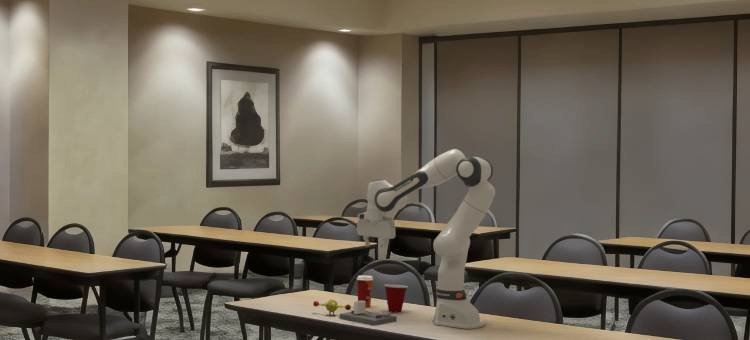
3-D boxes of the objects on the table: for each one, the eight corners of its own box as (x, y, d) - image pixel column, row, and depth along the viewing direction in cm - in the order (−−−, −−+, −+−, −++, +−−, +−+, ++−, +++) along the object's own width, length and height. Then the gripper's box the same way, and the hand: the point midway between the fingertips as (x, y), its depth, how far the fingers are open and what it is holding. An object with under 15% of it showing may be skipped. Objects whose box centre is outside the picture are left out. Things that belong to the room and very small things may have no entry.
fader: (365, 312, 405) (365, 300, 405) (357, 314, 402) (357, 302, 402) (361, 312, 407) (362, 300, 407) (353, 313, 403) (354, 301, 403)
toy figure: (310, 314, 412) (310, 298, 412) (316, 312, 417) (316, 296, 417) (347, 318, 405) (347, 302, 404) (352, 316, 410) (353, 300, 409)
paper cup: (372, 308, 431) (373, 277, 431) (355, 307, 431) (356, 277, 431) (372, 305, 439) (373, 275, 438) (356, 304, 439) (357, 274, 439)
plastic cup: (411, 311, 427) (412, 284, 426) (399, 314, 418) (399, 287, 417) (391, 308, 433) (392, 282, 432) (378, 311, 424) (379, 284, 423)
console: (396, 321, 401) (396, 312, 401) (374, 325, 391) (374, 316, 390) (361, 314, 414) (361, 306, 414) (339, 318, 404) (339, 310, 404)
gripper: (399, 217, 415) (398, 249, 415) (364, 214, 428) (363, 244, 429) (389, 218, 410) (388, 250, 410) (355, 214, 423) (354, 245, 424)
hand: (375, 247), depth 419 cm, fingers open, 8 cm apart
